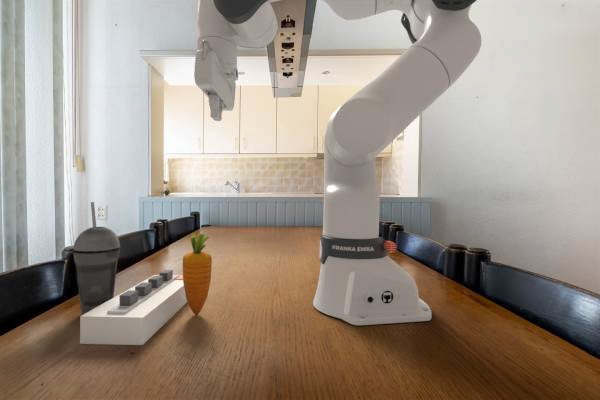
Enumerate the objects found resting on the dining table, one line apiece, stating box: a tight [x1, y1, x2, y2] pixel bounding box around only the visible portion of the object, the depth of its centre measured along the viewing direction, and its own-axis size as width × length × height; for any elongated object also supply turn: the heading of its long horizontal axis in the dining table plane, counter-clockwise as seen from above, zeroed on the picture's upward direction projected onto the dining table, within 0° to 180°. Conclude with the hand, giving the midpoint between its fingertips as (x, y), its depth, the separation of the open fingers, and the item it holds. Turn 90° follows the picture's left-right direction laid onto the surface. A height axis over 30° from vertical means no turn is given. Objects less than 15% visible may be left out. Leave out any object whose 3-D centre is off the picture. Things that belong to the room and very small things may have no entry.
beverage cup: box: [71, 201, 122, 316], centre depth 54 cm, size 7×7×20 cm
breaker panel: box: [79, 269, 188, 346], centre depth 54 cm, size 9×22×6 cm, turn 0°
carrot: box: [182, 232, 213, 316], centre depth 54 cm, size 5×5×15 cm
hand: (216, 119), depth 69 cm, fingers closed
